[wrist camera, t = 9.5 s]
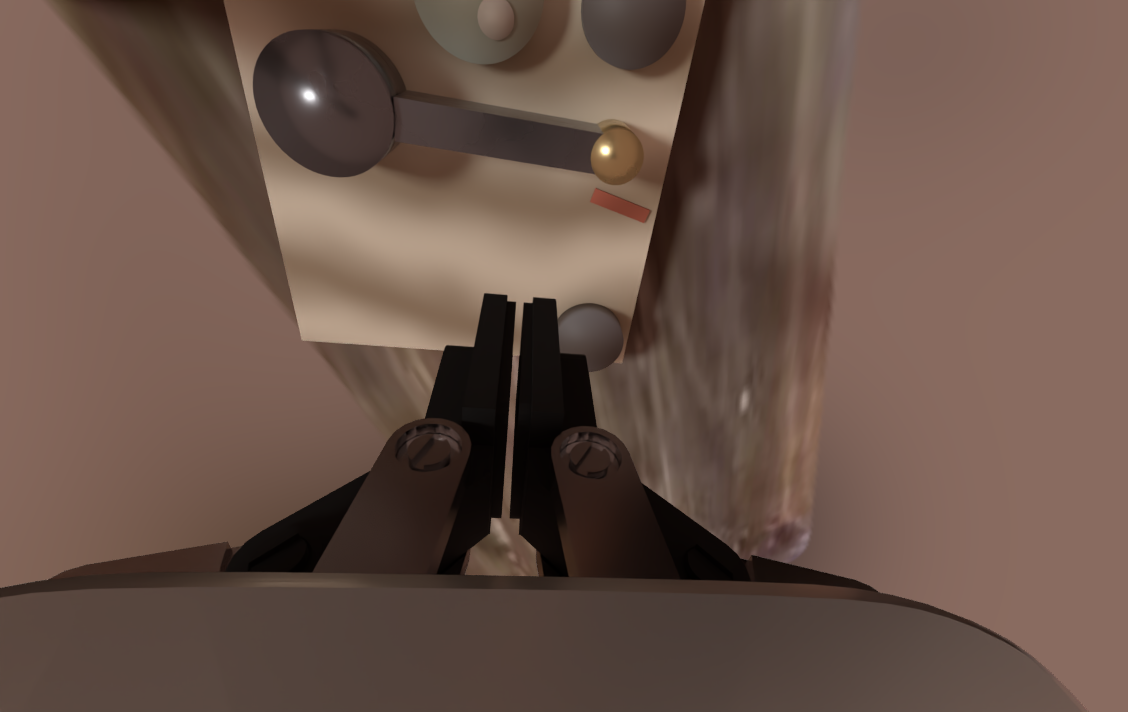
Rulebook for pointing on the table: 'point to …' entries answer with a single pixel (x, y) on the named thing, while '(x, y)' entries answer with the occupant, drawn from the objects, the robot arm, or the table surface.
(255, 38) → the plate
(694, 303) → the table surface
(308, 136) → the grey lever handle
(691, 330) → the table surface
